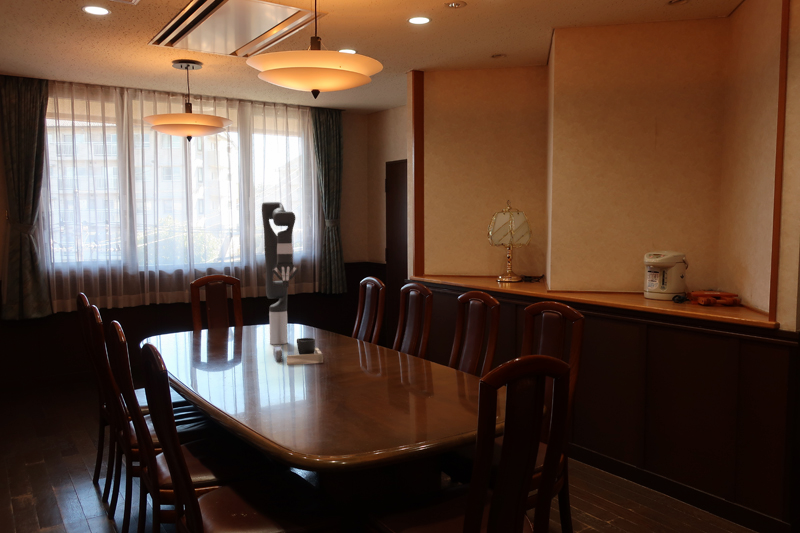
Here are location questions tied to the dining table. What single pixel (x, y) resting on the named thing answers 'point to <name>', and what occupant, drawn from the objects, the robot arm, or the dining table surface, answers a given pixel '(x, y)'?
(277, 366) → the dining table surface
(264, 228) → the robot arm
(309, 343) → the mug
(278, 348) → the leg
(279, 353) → the hinge post
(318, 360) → the seat frame
